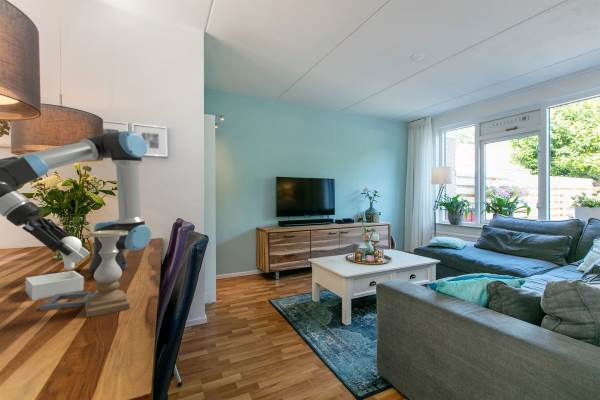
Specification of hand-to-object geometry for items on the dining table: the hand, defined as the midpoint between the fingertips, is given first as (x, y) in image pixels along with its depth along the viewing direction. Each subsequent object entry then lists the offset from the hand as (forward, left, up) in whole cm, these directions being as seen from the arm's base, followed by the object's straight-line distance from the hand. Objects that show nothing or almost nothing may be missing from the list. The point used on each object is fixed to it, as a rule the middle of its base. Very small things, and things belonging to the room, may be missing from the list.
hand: (83, 258), depth 90 cm
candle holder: (-3, +13, -15) cm, 19 cm away
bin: (+4, -19, -14) cm, 24 cm away
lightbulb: (+3, -2, -4) cm, 5 cm away
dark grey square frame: (+3, -2, -14) cm, 15 cm away
